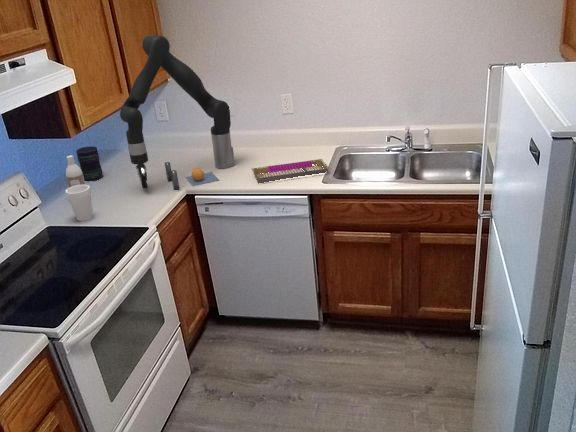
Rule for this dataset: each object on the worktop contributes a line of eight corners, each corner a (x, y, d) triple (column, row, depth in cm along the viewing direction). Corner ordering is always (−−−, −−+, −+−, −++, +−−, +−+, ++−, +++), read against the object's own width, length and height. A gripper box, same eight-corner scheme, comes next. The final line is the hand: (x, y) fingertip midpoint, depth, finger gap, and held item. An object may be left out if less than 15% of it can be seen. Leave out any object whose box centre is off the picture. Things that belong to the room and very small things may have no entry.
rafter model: (321, 165, 258) (321, 153, 256) (330, 175, 245) (330, 163, 243) (251, 175, 252) (250, 163, 249) (256, 186, 239) (255, 173, 237)
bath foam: (71, 202, 234) (60, 159, 226) (73, 196, 240) (62, 154, 232) (87, 199, 235) (76, 157, 227) (89, 194, 242) (79, 152, 233)
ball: (187, 170, 248) (194, 180, 251) (190, 175, 243) (196, 184, 246) (198, 163, 249) (204, 173, 252) (201, 168, 244) (207, 177, 247)
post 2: (178, 188, 241) (175, 169, 238) (180, 189, 239) (177, 171, 235) (173, 189, 241) (170, 170, 237) (174, 191, 238) (171, 172, 235)
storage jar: (107, 177, 261) (100, 148, 254) (89, 183, 254) (82, 154, 248) (97, 173, 267) (90, 145, 261) (79, 179, 261) (72, 150, 254)
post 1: (172, 179, 252) (169, 161, 249) (173, 180, 250) (170, 163, 246) (167, 180, 252) (163, 162, 248) (168, 182, 249) (165, 164, 245)
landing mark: (211, 172, 258) (211, 171, 258) (219, 180, 247) (219, 180, 247) (185, 177, 253) (185, 177, 253) (192, 186, 243) (192, 185, 243)
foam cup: (76, 214, 222) (69, 185, 216) (98, 212, 222) (92, 183, 217) (70, 223, 213) (62, 194, 208) (93, 221, 214) (86, 192, 208)
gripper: (149, 154, 229) (156, 191, 236) (143, 146, 240) (150, 181, 247) (131, 157, 226) (139, 194, 233) (127, 149, 237) (134, 185, 244)
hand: (144, 187), depth 240 cm, fingers closed
